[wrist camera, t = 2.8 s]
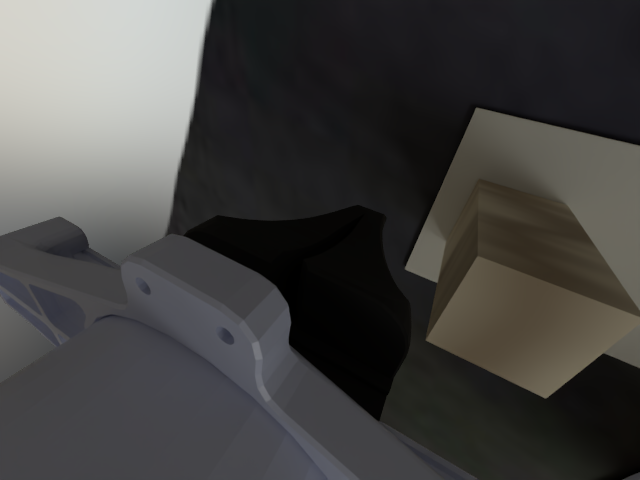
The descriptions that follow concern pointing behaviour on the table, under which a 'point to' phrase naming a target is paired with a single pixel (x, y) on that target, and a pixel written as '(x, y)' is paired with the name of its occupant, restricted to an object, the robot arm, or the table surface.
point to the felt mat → (547, 193)
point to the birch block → (526, 291)
